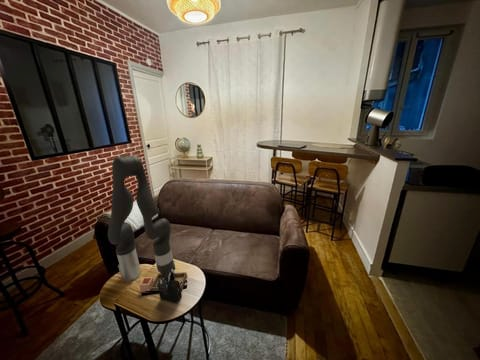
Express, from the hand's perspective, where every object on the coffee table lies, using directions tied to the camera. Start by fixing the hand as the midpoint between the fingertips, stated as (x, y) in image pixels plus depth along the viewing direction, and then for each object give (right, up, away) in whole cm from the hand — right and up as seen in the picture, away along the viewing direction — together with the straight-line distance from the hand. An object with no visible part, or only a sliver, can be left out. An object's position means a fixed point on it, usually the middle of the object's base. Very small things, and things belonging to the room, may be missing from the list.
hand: (169, 286), depth 96 cm
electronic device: (0, -7, +2) cm, 7 cm away
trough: (-4, -4, +11) cm, 12 cm away
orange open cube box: (-15, -6, +9) cm, 18 cm away
